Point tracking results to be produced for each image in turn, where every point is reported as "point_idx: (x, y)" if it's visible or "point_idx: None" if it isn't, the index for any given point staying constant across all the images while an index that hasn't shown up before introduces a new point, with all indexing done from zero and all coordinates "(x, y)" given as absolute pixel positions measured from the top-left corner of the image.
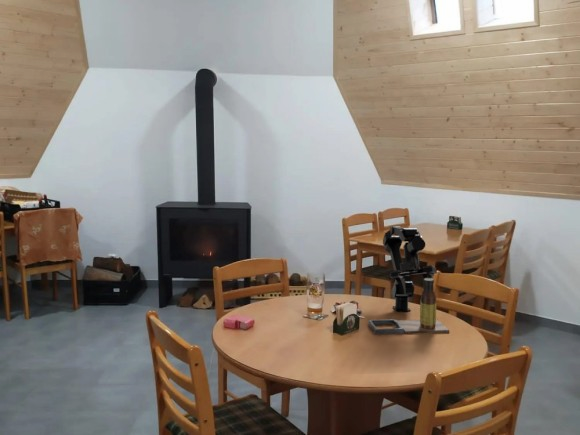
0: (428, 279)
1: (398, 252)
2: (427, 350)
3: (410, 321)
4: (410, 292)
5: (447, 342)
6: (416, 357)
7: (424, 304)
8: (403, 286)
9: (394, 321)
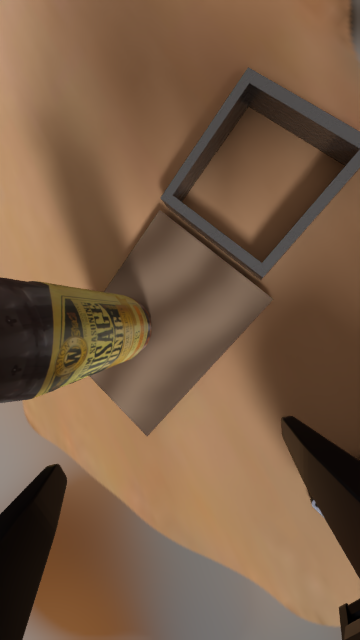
0: None
1: None
2: (40, 150)
3: (209, 335)
4: (355, 629)
5: (36, 262)
6: (33, 72)
7: (32, 281)
8: (351, 513)
9: (252, 256)
